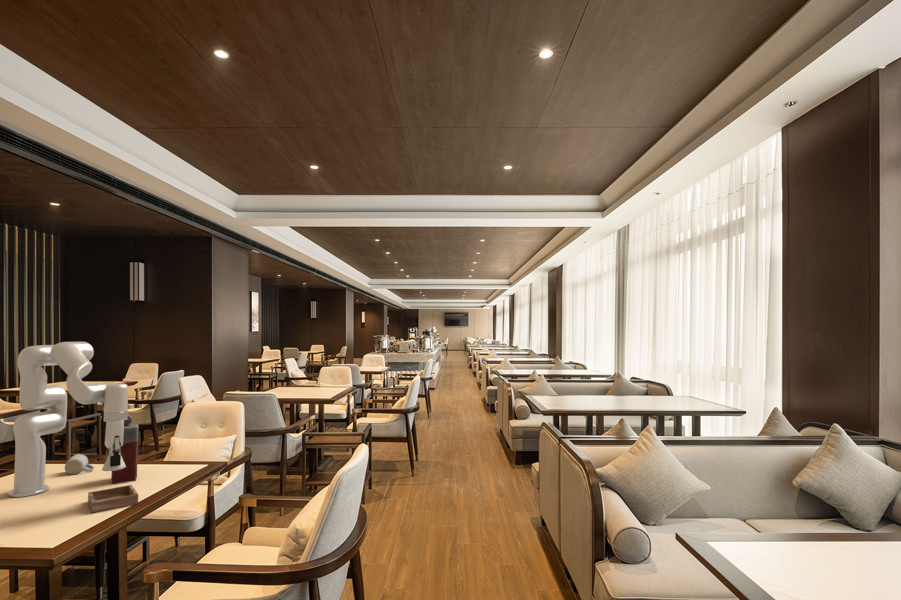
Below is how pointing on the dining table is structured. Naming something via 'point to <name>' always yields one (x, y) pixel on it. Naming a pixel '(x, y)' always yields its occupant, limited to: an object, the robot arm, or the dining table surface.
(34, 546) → the dining table surface
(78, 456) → the ceramic mug
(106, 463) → the flask
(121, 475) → the red decanter
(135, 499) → the box
